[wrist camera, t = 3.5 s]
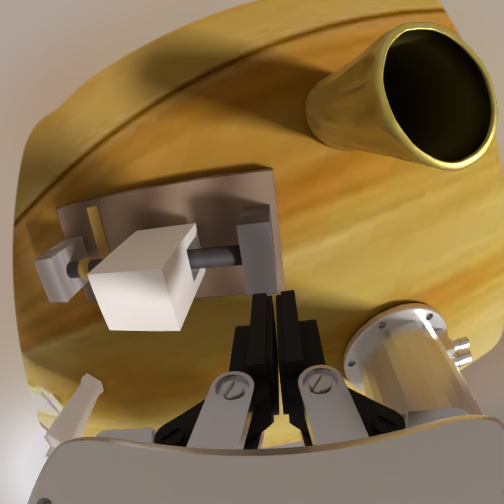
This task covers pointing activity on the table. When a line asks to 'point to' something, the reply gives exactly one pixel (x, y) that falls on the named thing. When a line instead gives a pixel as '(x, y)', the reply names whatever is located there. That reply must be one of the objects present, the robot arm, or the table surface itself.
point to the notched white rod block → (148, 280)
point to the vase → (409, 100)
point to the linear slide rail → (171, 214)
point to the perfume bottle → (74, 413)
